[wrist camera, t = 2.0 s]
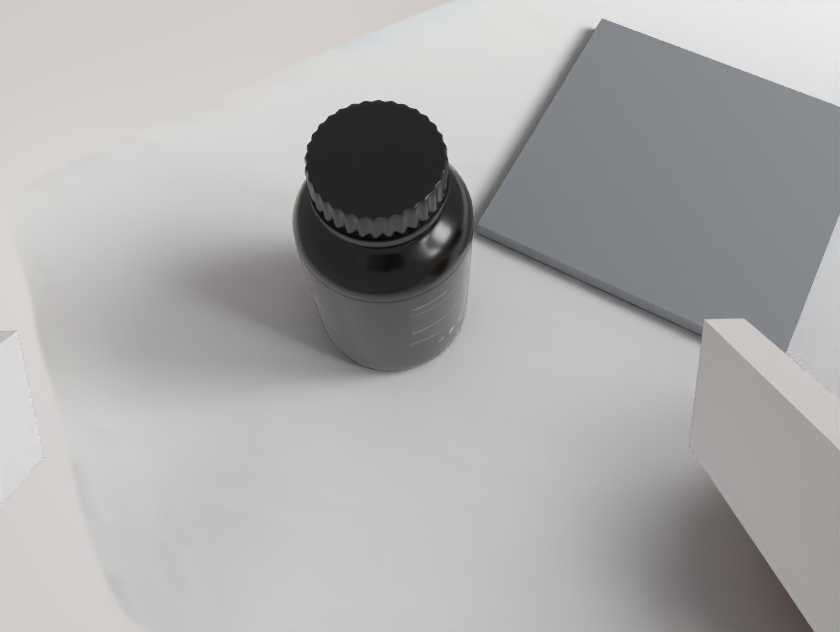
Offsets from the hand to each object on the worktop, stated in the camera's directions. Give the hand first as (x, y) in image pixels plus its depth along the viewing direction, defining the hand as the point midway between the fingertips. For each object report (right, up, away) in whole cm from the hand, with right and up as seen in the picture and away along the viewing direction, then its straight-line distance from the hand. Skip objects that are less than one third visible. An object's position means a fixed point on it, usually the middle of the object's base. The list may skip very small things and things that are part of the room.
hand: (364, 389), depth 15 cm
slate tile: (+14, +8, +24) cm, 29 cm away
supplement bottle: (0, +2, +21) cm, 21 cm away
